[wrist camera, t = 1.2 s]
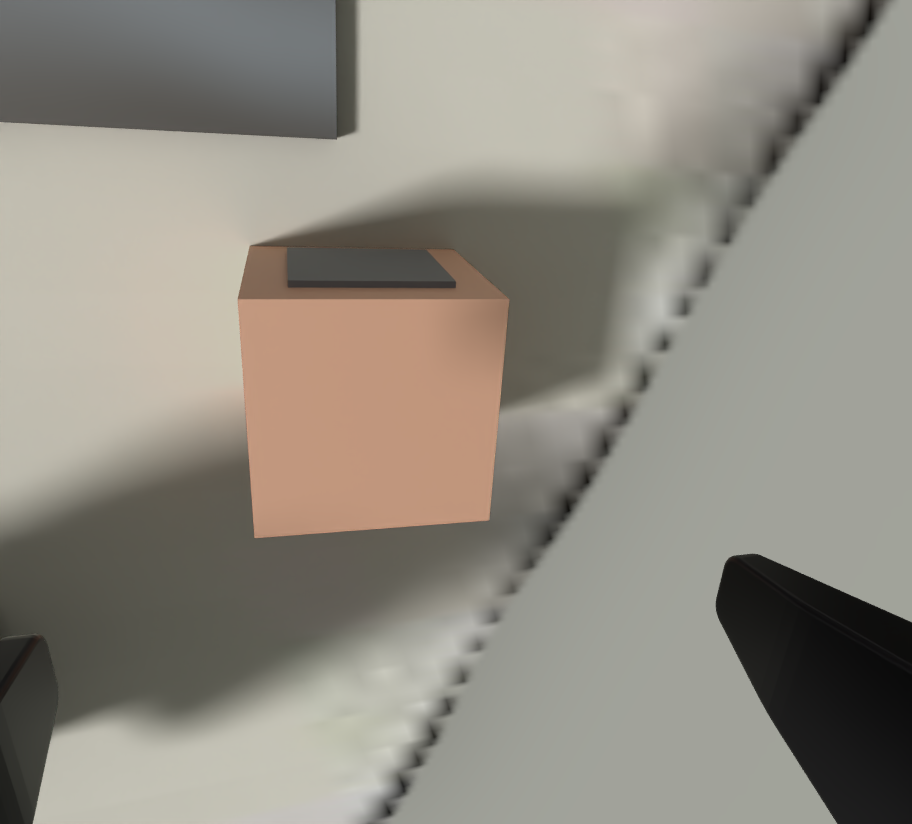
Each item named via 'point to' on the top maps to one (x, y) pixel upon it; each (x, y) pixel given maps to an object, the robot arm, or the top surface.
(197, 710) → the top surface
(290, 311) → the terracotta cube
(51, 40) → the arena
